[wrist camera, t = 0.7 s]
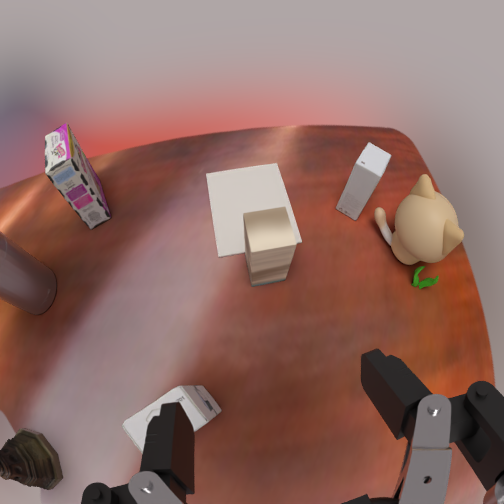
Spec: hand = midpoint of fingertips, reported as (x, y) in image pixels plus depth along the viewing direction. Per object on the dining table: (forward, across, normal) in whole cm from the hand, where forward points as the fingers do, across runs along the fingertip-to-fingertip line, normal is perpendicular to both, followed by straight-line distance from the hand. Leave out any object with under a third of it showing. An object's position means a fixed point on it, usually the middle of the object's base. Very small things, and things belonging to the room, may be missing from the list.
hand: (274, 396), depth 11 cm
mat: (+39, -4, -2) cm, 39 cm away
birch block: (+31, -4, +6) cm, 32 cm away
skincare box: (+37, -22, +1) cm, 43 cm away
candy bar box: (+44, +24, -10) cm, 51 cm away
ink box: (+19, +12, +20) cm, 30 cm away
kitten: (+30, -28, +9) cm, 42 cm away
